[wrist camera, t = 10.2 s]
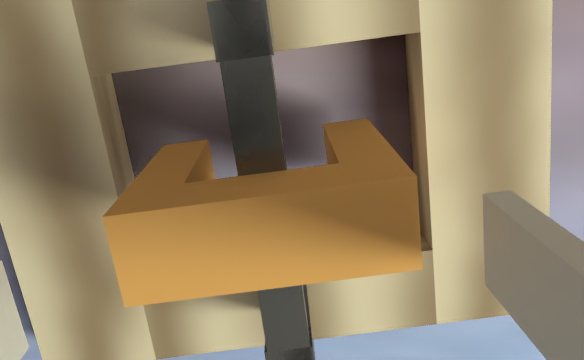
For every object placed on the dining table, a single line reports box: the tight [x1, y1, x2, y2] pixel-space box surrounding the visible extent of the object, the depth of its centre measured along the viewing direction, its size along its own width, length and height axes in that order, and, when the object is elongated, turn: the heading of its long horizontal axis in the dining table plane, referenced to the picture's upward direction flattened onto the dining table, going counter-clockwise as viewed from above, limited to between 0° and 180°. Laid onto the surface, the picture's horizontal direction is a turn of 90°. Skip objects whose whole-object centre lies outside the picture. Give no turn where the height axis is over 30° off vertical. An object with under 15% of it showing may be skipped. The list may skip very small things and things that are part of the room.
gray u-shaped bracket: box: [206, 0, 315, 360], centre depth 23 cm, size 2×14×9 cm, turn 7°
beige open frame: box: [0, 0, 552, 360], centre depth 26 cm, size 25×18×3 cm
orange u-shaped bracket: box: [102, 118, 423, 307], centre depth 20 cm, size 9×3×9 cm, turn 97°
